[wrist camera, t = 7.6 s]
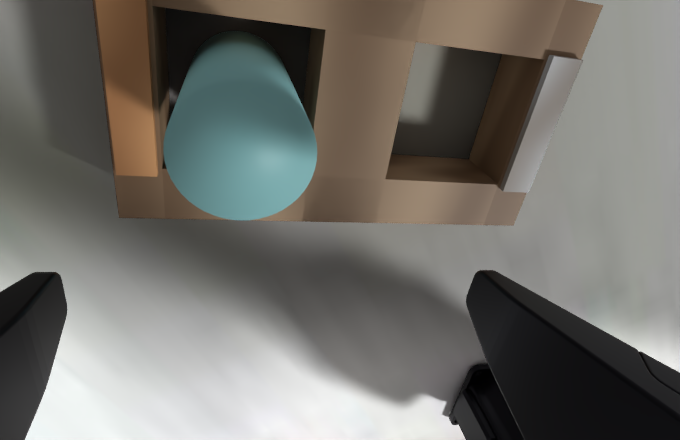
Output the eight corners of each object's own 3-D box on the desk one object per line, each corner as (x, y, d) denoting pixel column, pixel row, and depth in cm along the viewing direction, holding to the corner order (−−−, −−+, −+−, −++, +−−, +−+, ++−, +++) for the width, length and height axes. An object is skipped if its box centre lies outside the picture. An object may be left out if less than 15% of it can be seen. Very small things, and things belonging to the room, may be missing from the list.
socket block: (554, -2, 19) (608, 6, 16) (484, 197, 24) (516, 228, 21) (107, -83, 15) (78, -91, 12) (133, 183, 19) (117, 221, 17)
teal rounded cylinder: (291, 37, 18) (326, 88, 11) (282, 130, 20) (308, 221, 13) (188, 24, 17) (158, 71, 10) (190, 124, 19) (167, 218, 12)
